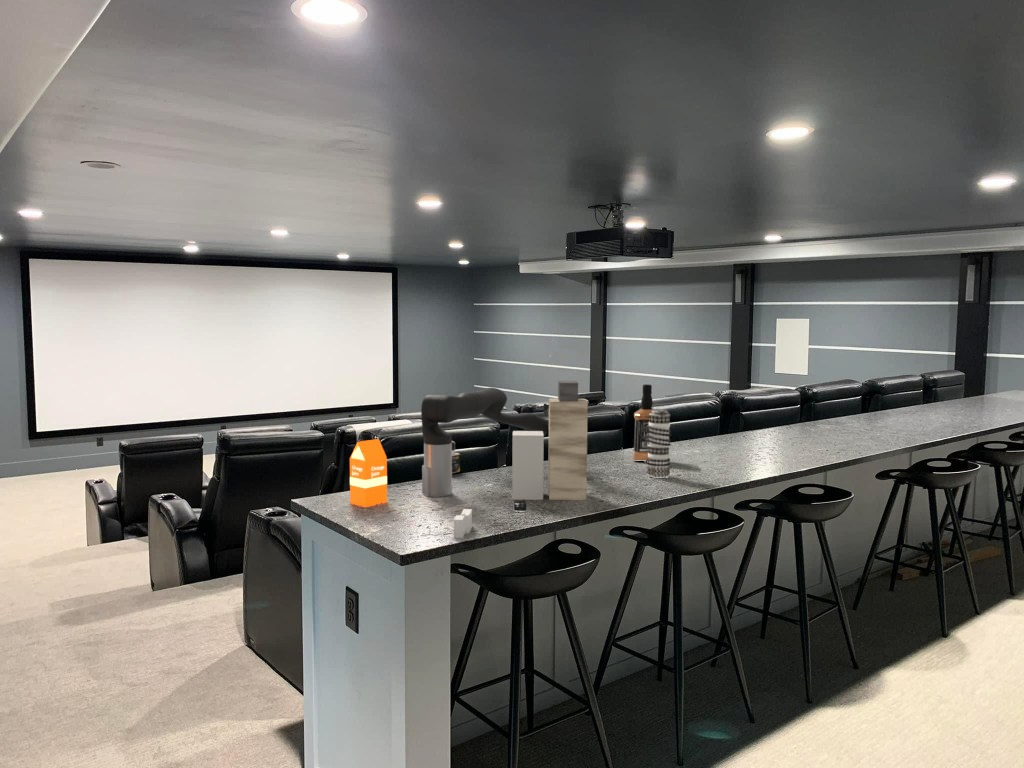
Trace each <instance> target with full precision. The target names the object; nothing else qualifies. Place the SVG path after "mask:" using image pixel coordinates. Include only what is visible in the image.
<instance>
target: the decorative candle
mask: <svg viewBox="0 0 1024 768" xmlns="http://www.w3.org/2000/svg"><path fill="white" fill-rule="evenodd" d="M670 417H671V414H670V413H669V411H668V410H666V409H653V410H652V411H651V413H650V414H649V425H647V427H648V428H647V432H649V433H648V434H647V437H648V438H647V441H649V443H648V444H647V445H648V446H649V453H648V458H647V460H648V462H646V464H647V466H646V473H647V474H646V475H650V476H654V477H666V476H668V475H669V476H670V474H671V472H670V470H671V467H670V465H671V463H670V461H671V458H670V447H671V445H672V444H671V443H670V442H672V439H670V437H672V434H671V433H672V429H670V428H671V422H670V419H671V418H670Z"/></svg>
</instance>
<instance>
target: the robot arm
mask: <svg viewBox="0 0 1024 768" xmlns="http://www.w3.org/2000/svg"><path fill="white" fill-rule="evenodd" d="M507 396H508V395H506V393H505V392H504V391H503V390H501V389H498V388H496V387H487V388H484V389H481V390H477V391H465V392H461V393H459V394H458V395H456V396H453V395H447V394H427V395H425V396H424V398H423V399H422V402H421V406H420V407H421V410H420V411H421V413H420V414H421V416H420V417H421V430H422V432H421V433H422V438H423V465H422V466H421V474H422V476H421V480H422V481H421V483H422V484H421V485H422V486H421V489H422V490H421V493H422V494H423V495H425V496H426V497H428V498H429V497H434V498H435V497H436V498H437V497H439V498H441V497H447V496H450V495H452V493H453V473H452V441H453V437H452V434H451V433H449V432H447V431H446V430H444V429H442V428H441V426H440V425H439V424H447V423H452V422H455V421H457V420H459V419H471V418H472V419H473V418H475V417H478V416H479V415H482V416H483V417H486V418H487V419H490V420H493V421H495V422H500V423H501V424H502V423H503V424H505V425H510V426H513V427H517V428H520V429H523V430H524V431H543V435H544V437H546V435H547V434H549V419H546V418H544V417H548V416H549V403H548V404H547V403H543V416H544V417H541V416H540V415H537V414H535V413H531V412H523V413H522V412H521V413H512V414H511V413H509V414H508V413H504V412H502V411H503V409H504V408H505V406H506V405H507V402H508V397H507Z"/></svg>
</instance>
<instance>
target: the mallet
mask: <svg viewBox="0 0 1024 768" xmlns="http://www.w3.org/2000/svg"><path fill="white" fill-rule="evenodd" d="M557 399H558V400H559V401H578V399H579V382H578V381H577V380H558V381H557Z"/></svg>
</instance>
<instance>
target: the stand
mask: <svg viewBox="0 0 1024 768" xmlns="http://www.w3.org/2000/svg"><path fill="white" fill-rule="evenodd" d="M548 404H549V409H548V410H549V414H548V420H549V431H548V463H547V465H548V466H547V467H548V471H547V473H548V474H547V476H548V478H547V480H548V481H547V484H548V485H547V489H548V490H547V492H548V493H547V494H548V500H550V501H587V484H588V483H587V482H588V481H587V477H588V476H587V475H588V471H587V470H588V468H587V467H588V407H589V405H588V404H589V403H588V401H587V399H586V398H578V401H559V400H558V398H548Z"/></svg>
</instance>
